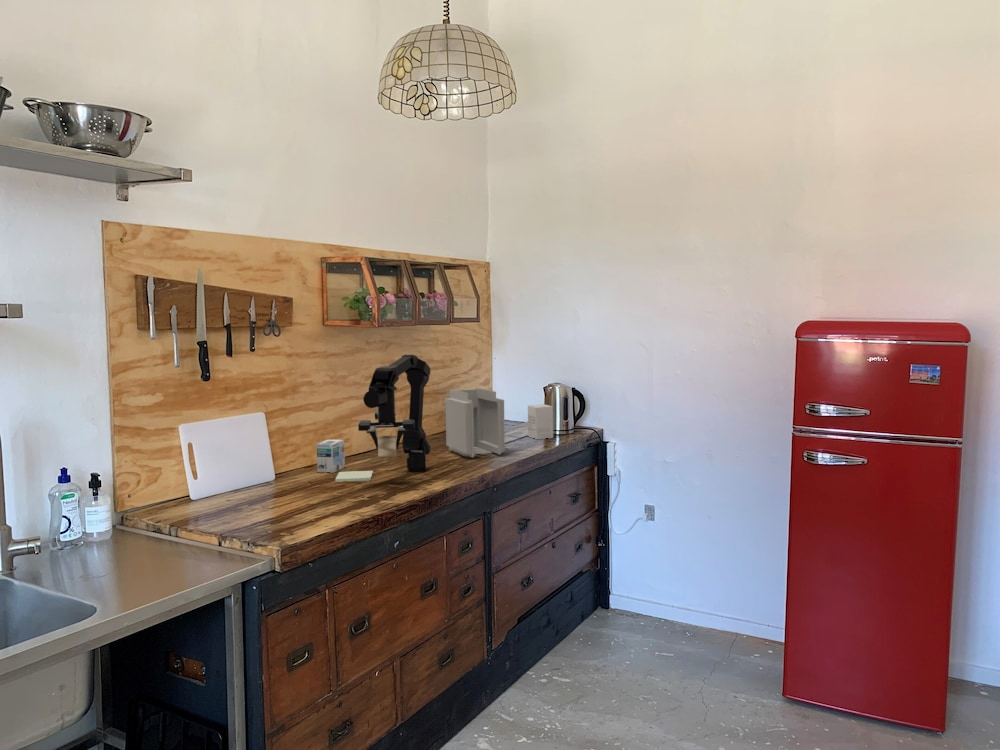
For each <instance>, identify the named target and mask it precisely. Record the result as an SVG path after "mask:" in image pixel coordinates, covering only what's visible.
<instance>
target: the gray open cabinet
mask: <svg viewBox="0 0 1000 750" xmlns="http://www.w3.org/2000/svg"><path fill="white" fill-rule="evenodd" d="M505 433H506V432H505V400H504V399H503V398H497V391H494V390H489V389H484V388H481V387H475V388H473V389H458V390H457V389H456V390H455V389H449V397H445V436H446V437H445V439H446V440H445V443H446V445H445V446H446V447H448V450H449V449H450V450H452V451H454V452H453V453H455V452H457V453H459V454H458V455H460V454H461V455H460V456H462V455H463V456H462V457H471V458H474V457H475V456H477V455H476V454H483V455H487V454H486V453H492V454H493V453H495V454H497V455H501V454H502V453H504V452H506V447H505V445H506V444H505V443H506V441H505ZM474 447H478V448H474ZM450 450H449V451H450ZM452 451H451V452H452ZM457 453H456V454H457Z"/></svg>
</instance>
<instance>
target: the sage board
mask: <svg viewBox="0 0 1000 750" xmlns="http://www.w3.org/2000/svg"><path fill="white" fill-rule="evenodd" d="M372 474H374V470H354V471H353V470H351V471H350V470H349V471H339V472H338V473H337V475H336V477H335V479H334V480H335V481H334V482H335V483H340V482H341V483H344V482H343V481H348V482H371V481H370V480H372V478H373V475H372ZM371 477H372V478H371Z"/></svg>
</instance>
